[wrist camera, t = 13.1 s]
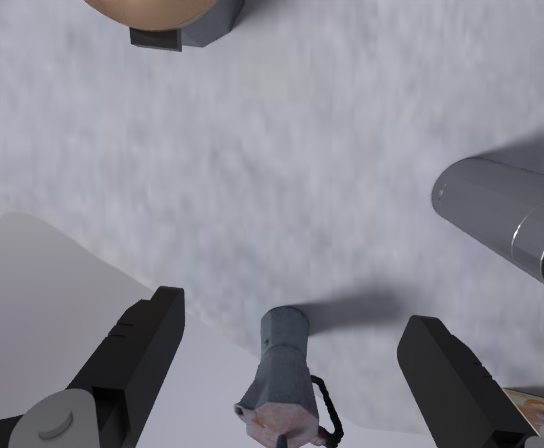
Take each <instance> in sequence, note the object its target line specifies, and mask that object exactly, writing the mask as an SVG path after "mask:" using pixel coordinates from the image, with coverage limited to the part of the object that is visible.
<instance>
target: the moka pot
mask: <svg viewBox="0 0 544 448" xmlns="http://www.w3.org/2000/svg"><path fill="white" fill-rule="evenodd" d="M308 329H309V322H308V320H307V319H306V317H305V316H304V315H303V314H302V313H301V312H300V311H298V310H296V309H293V308H290V307H279V308H274V309H272V310H270V311H268V312H267V313H266V314H265V315H264V317H263V318H262V319H261V362H260V364H259V365H258V369H257V373H256V376H255V380H254V382H253V383H252V385H251V386H250V387H249V389H248V391H247V392H246V393H245V395H244V396H243V398H242V399H241V401H240V402H239V403H237V404H234V411H235V413H236V414H237V415H238V417H239V418H240V419H241V420H242V421H244V422H245V423H246V424H247V428H246V430H247V434H248V435H249V436H250V437H252V438H253V439H255V440H256V441H258V442H259V443H261V444H262V445H263V446H265V447H267V448H299V447H300V446H303V445H305V444H307V443H309V442H310V443H311V444H313V445H316V446H321V445H323V446H325V447H327V448H336V447H337V446H338V445H337V444H338V443H340V441H341V438H342V437H343V435H344V432H343V429H342V424H341V422H340V420H339V417H338V415H337V412H336V411H335V408H334V406H333V404H332V401H331V399H330V397H329V393H328V391H327V390H326V386H325V383H324V381H323V380H322V379H321V378H319V377H316V376H315V375H314V376H313V375H311V376H310V372H309V368H308V367H307V363H306V355H307V342H308ZM312 382H313V383H316V384H317V385H318V386H319V389H320V391H321V392H322V394H323V398H324V402H325V405H326V406H327V409H328V413H329V414H330V418H331V420H332V422H333V424H334V427H335V432H334V433H333V434H330V433H329V432H328V431H327V430H326V429H325V428H323V427H322V426H319V414H318V409H317V405H316V400H315V395H314V391H313V386H312Z"/></svg>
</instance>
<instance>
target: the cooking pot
mask: <svg viewBox="0 0 544 448" xmlns="http://www.w3.org/2000/svg"><path fill="white" fill-rule="evenodd" d="M244 3H245V0H218V1H217V2H216V4H215V5H214V6H213V7H212V8H211V9H210V10H209V11H208V12H207V13H206V14H205V15H203V16H202V17H200V18H199V19H198V20H196V21H195V22H193V23H191V24H189V25H187V26H185V27H182V28H179V29H175V30H172V31H163V32H151V31H143V30H138V29H134V28H131V27H129V29H130V39H131V44H132V45H135V46H137V47H144V48H152V49H161V50H169V51H177V52H182V45H186V46H194V47H204V46H206V45H208V44H209V43H211V42H213V41H215V40H217V39H218V38H220V37H222V36H224V35H226V34H227V33H229V31H230V29H231V27H232V25H233V24H234V22H235V20H236V18H237V16H238V14H239V13H240V11H241V9H242V7H243V5H244Z"/></svg>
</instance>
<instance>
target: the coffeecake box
mask: <svg viewBox="0 0 544 448" xmlns="http://www.w3.org/2000/svg"><path fill="white" fill-rule="evenodd" d="M502 390H503V391H504V392H505V394H506V395H507V396H508V397H509V399H510V400H511V401H512V402H513V404H514V405H515V406H516V407H517V409H518V410H519V411H520V413H521V414H522V415H523V416H524V418H525V419H526V420H527V421H528V423H529V424H530V425H531V426H532V428H533V429H534V430H535V431H536V433H537V434H538V435H539V436H540V437H543V438H544V398H543V397H538V396H534V395H529V394H525V393H521V392H517V391H512V390H508V389H504V388H502Z"/></svg>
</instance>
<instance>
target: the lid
mask: <svg viewBox="0 0 544 448" xmlns="http://www.w3.org/2000/svg"><path fill="white" fill-rule="evenodd" d="M84 1H85V2H86V3H88V4H89V5H90V6H91V7H93V8H94V9H96V10H97V11H99V12H100V13H102V14H104V15H105V16H107V17H109V18H111V19H113V20H115V21H117V22H119V23H121V24H123V25H126V26H128V27H131V28H134V29H138V30H143V31H151V32H163V31H172V30H175V29H179V28H182V27H185V26H187V25H189V24H191V23H193V22H195V21H196V20H198V19H199V18H200V17H202V16H203V15H205V14H206V13H207V12H208V11H209V10H210V9H211V8H212V7H213V6H214V5H215V4H216V2H217V1H218V0H84Z"/></svg>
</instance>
